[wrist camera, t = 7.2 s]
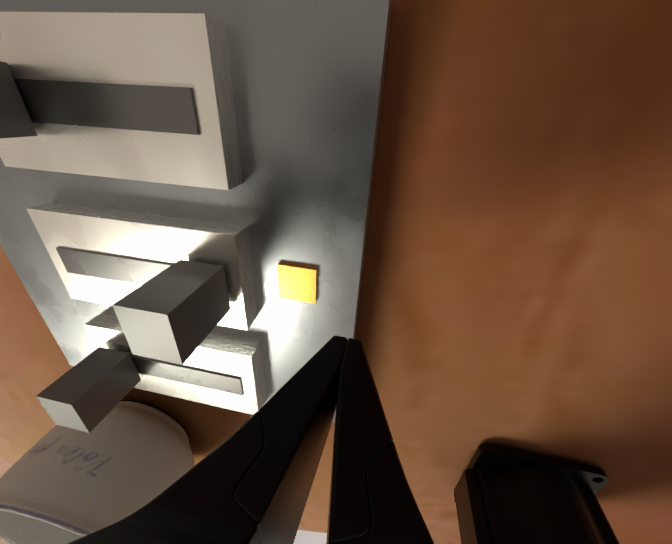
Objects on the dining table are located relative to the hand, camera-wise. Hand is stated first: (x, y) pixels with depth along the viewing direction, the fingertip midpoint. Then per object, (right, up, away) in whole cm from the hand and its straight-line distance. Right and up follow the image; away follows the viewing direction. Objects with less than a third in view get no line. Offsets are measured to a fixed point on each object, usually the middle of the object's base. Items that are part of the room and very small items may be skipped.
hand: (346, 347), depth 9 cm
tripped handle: (-5, +2, +2) cm, 6 cm away
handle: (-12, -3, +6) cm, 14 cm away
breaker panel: (-8, +4, +5) cm, 10 cm away
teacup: (-17, -11, +16) cm, 25 cm away
